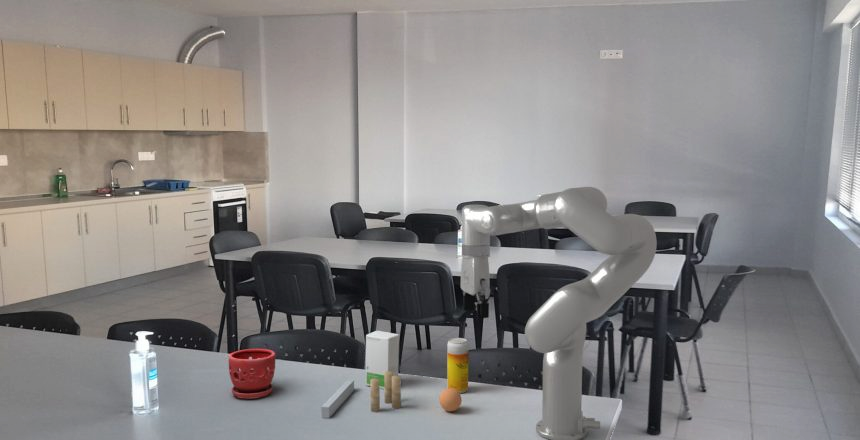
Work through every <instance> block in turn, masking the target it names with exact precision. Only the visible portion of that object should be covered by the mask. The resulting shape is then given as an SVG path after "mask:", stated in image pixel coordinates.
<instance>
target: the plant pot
mask: <svg viewBox="0 0 860 440" xmlns="http://www.w3.org/2000/svg"><path fill="white" fill-rule="evenodd" d="M250 358H251V359H250ZM275 369H276V353H275V351H273V350H271V349H266V348H248V349H242V350H237V351H233V352H231V353H230V354H229V355H228V372H229V377H230V382H231V383H232V385H233V387H232V388H231V393H232V394H233V395H234V396H235V397H237V398H240V399H245V400H246V399H247V400H252V399H258V398H263V397H265V396H267V395H269V394H270V393H271V392H272V391H273V389H274V387H273V384H272V381H273V379H274V377H275V376H274V375H275V371H276V370H275Z"/></svg>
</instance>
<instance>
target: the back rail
mask: <svg viewBox="0 0 860 440" xmlns="http://www.w3.org/2000/svg"><path fill="white" fill-rule="evenodd" d="M354 391H355V379H347V380H345V382H344V383H343V384H342V385H341V386H340V387H339V388H338V389H337V390H336V391H335V392H334V393H333V394H331V396H330V398H329V397H328V399H327V400H326V401H325V402H324V403H323V404H322V405H321V418H322V419H330V418H331V417H332V416H333V414H334V413H335V412H336V411H337V410H338V409H339V407H340V406H341V405H342V404H343V403H344V402H345V401H346V400H347V399H348V397H350V395H351V394H352V393H353V392H354Z"/></svg>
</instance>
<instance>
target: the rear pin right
mask: <svg viewBox="0 0 860 440" xmlns="http://www.w3.org/2000/svg"><path fill="white" fill-rule="evenodd" d="M392 376H393V371H385V372H384V383H385V389H384V403H385V404H392Z"/></svg>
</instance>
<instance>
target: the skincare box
mask: <svg viewBox="0 0 860 440" xmlns="http://www.w3.org/2000/svg"><path fill="white" fill-rule="evenodd" d="M399 355H400V334H398V333H392V332H388V331H382V330H375V331H373V332H370V333H367V334H366V335H365V375H364V376H365V377H364V378H365V380H364V381H365V382H364V384H365V386H367V387H371V385H370V380H371V379H374V378H377V379H379V389H382V390H385V383H384V372H385V371H393V376H395V375H398V376H399V365H400V364H399V363H400V362H399V361H400V360H399V359H400V358H399V357H400V356H399Z"/></svg>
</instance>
